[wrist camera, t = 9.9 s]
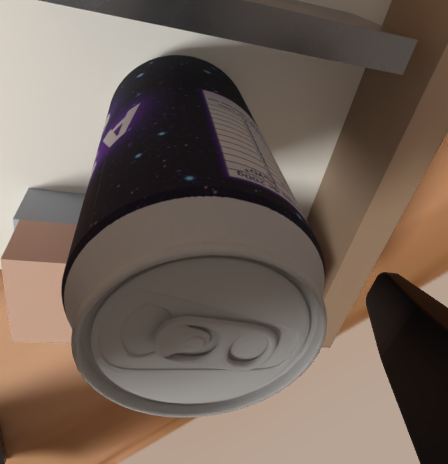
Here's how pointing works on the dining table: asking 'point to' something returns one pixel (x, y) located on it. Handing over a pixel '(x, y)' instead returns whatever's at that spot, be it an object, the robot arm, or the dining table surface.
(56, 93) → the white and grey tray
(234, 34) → the grey flat plate
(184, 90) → the beverage can
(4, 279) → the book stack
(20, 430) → the dining table surface
